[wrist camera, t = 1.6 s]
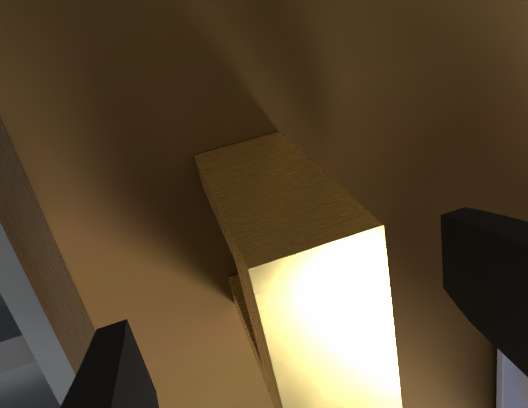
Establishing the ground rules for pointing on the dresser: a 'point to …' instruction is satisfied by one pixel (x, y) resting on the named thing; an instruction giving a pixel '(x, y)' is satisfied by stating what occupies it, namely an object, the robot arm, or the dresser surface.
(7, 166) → the rail
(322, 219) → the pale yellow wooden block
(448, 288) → the robot arm
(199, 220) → the dresser surface
